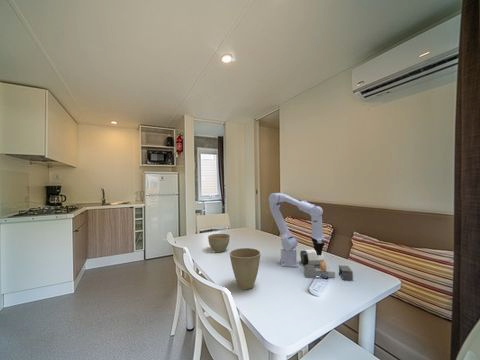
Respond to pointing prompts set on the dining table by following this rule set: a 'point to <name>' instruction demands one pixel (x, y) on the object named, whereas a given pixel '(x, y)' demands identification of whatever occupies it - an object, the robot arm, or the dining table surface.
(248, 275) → the plant pot
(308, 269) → the sleeve
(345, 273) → the dark gray rectangular block
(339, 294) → the dining table surface
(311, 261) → the jar
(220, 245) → the planter bowl
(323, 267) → the slab with tan knob
